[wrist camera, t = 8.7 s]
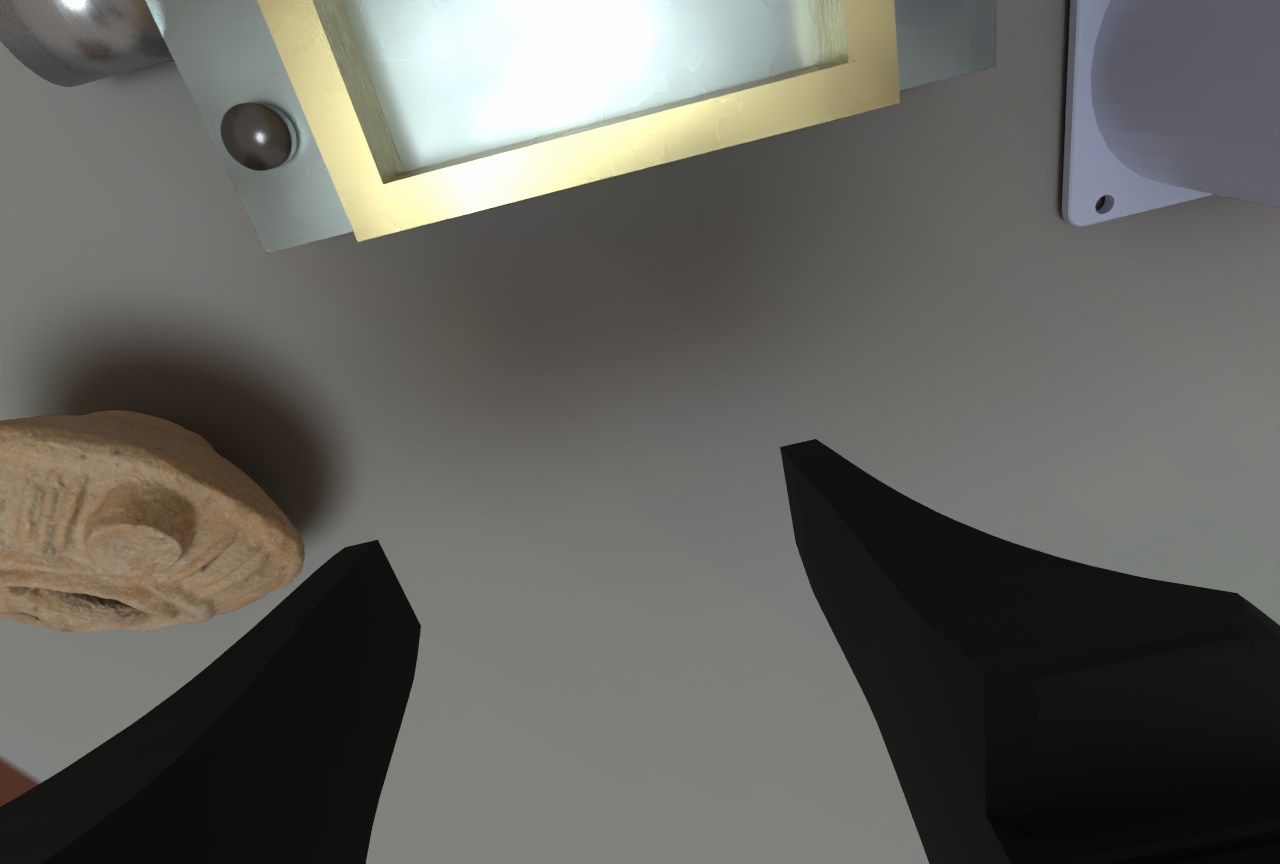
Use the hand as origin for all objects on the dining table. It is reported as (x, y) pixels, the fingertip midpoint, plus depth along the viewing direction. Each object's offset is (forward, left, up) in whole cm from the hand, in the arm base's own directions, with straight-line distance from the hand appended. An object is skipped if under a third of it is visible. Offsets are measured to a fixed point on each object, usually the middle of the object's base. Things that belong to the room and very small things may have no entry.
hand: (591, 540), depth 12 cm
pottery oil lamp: (+15, +1, -11) cm, 19 cm away
